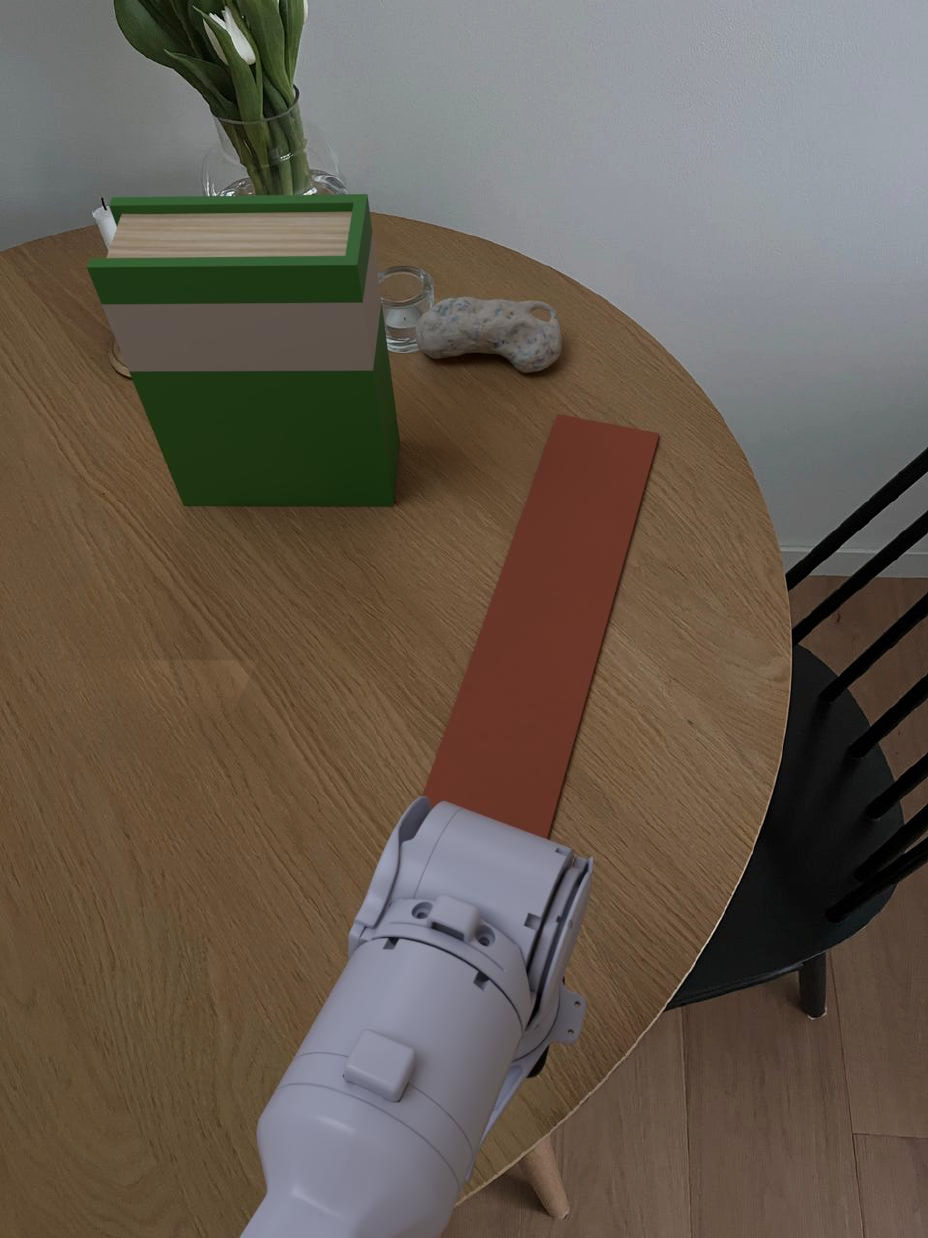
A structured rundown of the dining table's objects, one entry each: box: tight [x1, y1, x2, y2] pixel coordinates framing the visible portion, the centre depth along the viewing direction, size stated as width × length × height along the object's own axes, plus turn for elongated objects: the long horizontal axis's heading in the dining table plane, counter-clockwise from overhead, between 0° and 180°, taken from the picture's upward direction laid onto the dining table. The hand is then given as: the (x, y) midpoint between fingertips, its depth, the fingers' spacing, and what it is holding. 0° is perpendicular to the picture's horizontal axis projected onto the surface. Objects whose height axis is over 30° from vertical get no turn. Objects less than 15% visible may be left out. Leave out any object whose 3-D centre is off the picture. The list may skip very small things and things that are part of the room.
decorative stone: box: [414, 296, 563, 374], centre depth 95 cm, size 13×7×5 cm, turn 89°
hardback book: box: [86, 193, 401, 507], centre depth 80 cm, size 18×7×24 cm, turn 88°
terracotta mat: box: [421, 413, 660, 840], centre depth 79 cm, size 46×9×1 cm, turn 163°
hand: (500, 1032), depth 54 cm, fingers closed
